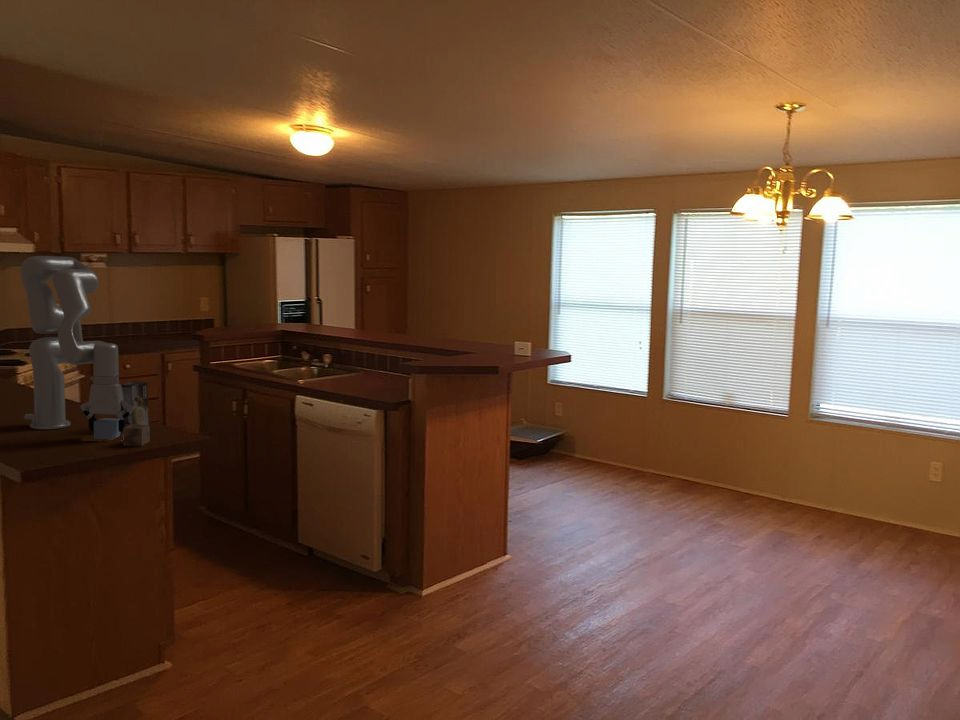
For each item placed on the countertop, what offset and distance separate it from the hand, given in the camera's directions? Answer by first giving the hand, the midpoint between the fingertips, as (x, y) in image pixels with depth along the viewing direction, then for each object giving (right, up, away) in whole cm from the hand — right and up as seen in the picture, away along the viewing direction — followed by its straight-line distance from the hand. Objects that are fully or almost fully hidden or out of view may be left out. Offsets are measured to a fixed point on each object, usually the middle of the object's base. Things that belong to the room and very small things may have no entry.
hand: (107, 430), depth 258 cm
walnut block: (+13, -4, -7) cm, 15 cm away
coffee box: (+1, -1, +17) cm, 17 cm away
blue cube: (0, -3, 0) cm, 3 cm away
